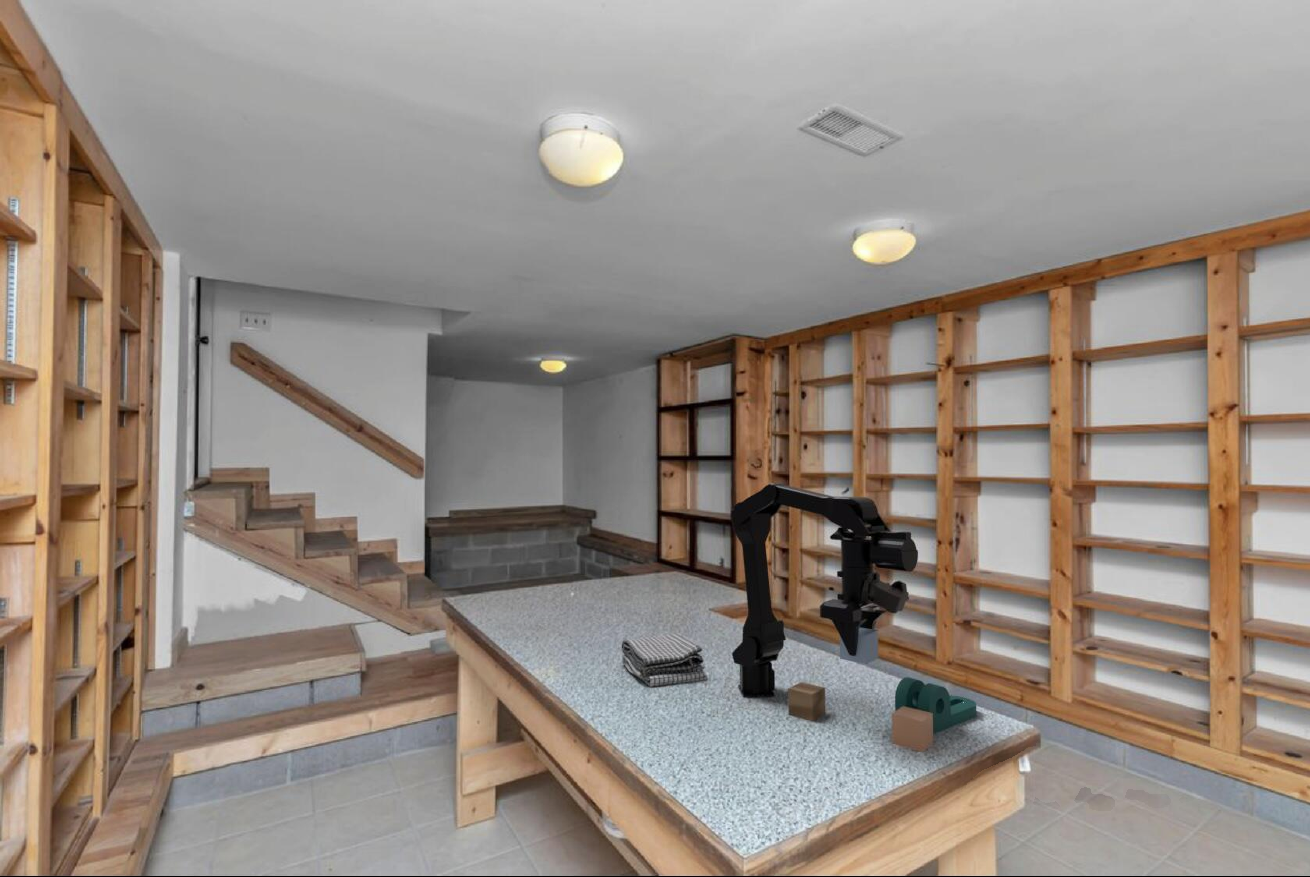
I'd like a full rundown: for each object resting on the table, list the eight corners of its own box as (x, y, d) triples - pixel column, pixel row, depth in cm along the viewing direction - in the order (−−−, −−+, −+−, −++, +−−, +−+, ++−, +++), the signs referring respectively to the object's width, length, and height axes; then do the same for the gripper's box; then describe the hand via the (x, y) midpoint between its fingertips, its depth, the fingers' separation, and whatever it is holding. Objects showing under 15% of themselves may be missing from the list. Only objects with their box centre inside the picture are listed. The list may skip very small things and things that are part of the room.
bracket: (929, 736, 111) (928, 690, 112) (895, 724, 117) (894, 680, 117) (983, 714, 122) (982, 672, 122) (949, 704, 127) (948, 664, 128)
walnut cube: (812, 721, 118) (812, 694, 118) (788, 715, 121) (788, 688, 122) (825, 714, 122) (825, 687, 122) (801, 708, 125) (801, 682, 125)
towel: (677, 660, 159) (677, 628, 159) (709, 682, 142) (709, 646, 142) (619, 666, 153) (619, 633, 154) (644, 690, 136) (644, 652, 137)
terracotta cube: (922, 752, 105) (922, 721, 105) (892, 744, 108) (891, 713, 108) (933, 743, 108) (932, 713, 109) (903, 735, 112) (902, 705, 112)
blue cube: (866, 664, 113) (866, 635, 113) (840, 658, 116) (839, 630, 117) (878, 658, 117) (877, 630, 117) (852, 653, 120) (851, 626, 120)
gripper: (879, 576, 105) (881, 673, 104) (920, 564, 119) (922, 650, 118) (817, 569, 113) (819, 660, 112) (862, 559, 127) (864, 640, 126)
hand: (858, 652), depth 117 cm, fingers closed on blue cube, 5 cm apart
